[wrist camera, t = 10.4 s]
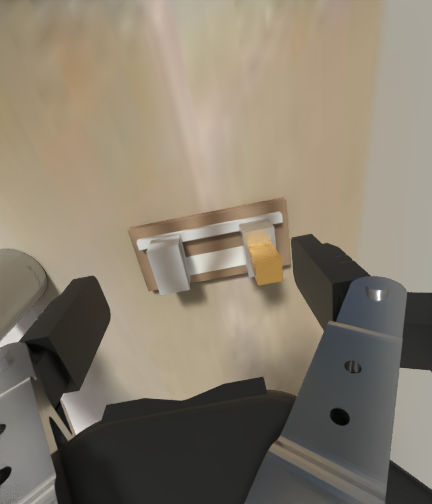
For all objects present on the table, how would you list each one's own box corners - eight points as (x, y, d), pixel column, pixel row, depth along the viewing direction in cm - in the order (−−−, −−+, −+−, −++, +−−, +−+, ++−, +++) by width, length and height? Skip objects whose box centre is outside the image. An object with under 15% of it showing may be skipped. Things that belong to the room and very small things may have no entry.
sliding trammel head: (244, 263, 41) (255, 297, 33) (237, 221, 38) (248, 248, 30) (271, 258, 41) (288, 290, 33) (266, 216, 38) (284, 240, 30)
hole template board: (150, 286, 44) (142, 311, 38) (130, 227, 40) (118, 245, 34) (288, 259, 43) (302, 281, 37) (283, 197, 39) (298, 210, 33)
